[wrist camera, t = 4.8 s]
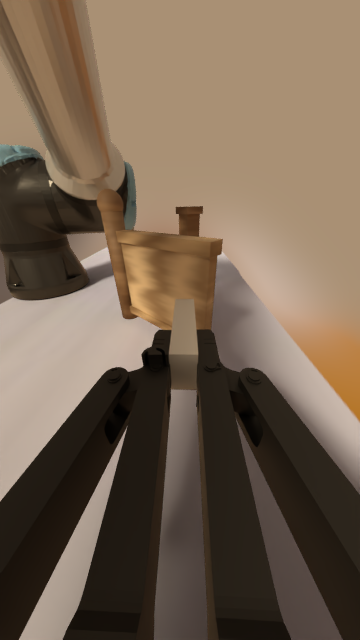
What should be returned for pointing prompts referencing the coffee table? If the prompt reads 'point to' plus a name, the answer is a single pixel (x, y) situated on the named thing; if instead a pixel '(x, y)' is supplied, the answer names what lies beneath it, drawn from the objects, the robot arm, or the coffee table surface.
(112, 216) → the hinge post
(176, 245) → the gate
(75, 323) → the coffee table surface
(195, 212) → the latch post
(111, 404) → the robot arm
